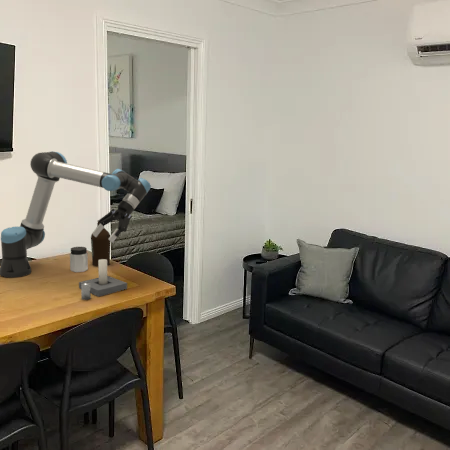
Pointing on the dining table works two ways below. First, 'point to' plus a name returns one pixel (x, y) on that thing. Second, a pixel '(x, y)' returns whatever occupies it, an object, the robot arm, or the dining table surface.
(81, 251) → the jar
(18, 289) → the dining table surface
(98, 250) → the olive oil
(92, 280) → the hole plate
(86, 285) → the short pin
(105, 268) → the long pin
